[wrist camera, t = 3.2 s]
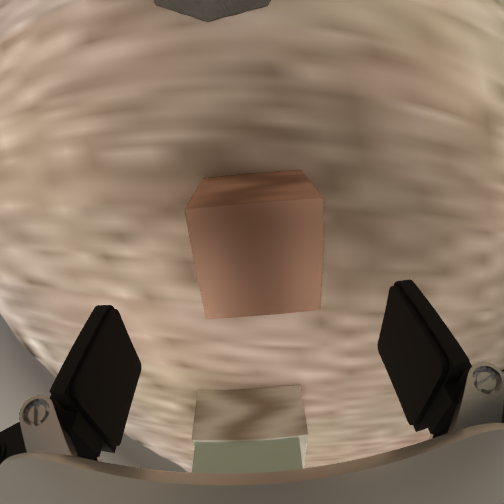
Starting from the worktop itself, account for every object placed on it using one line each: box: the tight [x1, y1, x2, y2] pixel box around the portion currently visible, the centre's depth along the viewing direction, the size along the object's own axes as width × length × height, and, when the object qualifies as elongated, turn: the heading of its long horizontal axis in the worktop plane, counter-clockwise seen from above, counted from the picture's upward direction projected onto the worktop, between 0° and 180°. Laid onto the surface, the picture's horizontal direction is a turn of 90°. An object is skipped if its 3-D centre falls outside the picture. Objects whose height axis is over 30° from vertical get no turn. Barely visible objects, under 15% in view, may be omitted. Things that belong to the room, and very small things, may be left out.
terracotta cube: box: [185, 170, 323, 319], centre depth 17 cm, size 6×6×6 cm
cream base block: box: [192, 385, 308, 469], centre depth 27 cm, size 10×10×6 cm
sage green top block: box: [192, 437, 303, 474], centre depth 22 cm, size 9×9×6 cm
